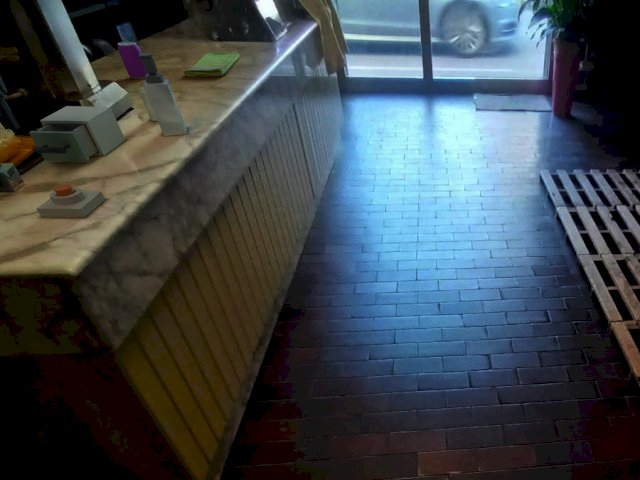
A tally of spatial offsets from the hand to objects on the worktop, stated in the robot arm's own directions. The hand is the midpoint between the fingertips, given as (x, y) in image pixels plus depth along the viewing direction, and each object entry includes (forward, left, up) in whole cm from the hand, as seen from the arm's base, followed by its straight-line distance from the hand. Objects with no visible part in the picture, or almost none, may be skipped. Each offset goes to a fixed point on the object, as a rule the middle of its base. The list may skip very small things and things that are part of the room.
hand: (12, 128), depth 129 cm
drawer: (0, +16, -13) cm, 20 cm away
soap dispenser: (+18, +42, -14) cm, 48 cm away
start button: (+16, -16, -10) cm, 25 cm away
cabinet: (0, +26, -14) cm, 29 cm away
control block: (+16, -16, -14) cm, 26 cm away
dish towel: (+2, +127, -14) cm, 128 cm away
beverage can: (-21, +107, -14) cm, 110 cm away
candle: (+8, +54, -14) cm, 56 cm away
